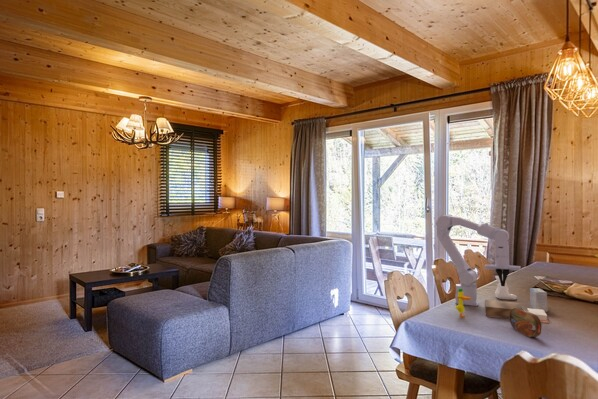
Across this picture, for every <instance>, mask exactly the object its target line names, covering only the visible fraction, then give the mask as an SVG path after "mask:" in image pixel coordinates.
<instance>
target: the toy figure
mask: <svg viewBox="0 0 598 399" xmlns="http://www.w3.org/2000/svg"><path fill="white" fill-rule="evenodd" d="M457 298H458V300H459V304H456V305H454V307H455V309H456V310H457V311H458V314H459V317H460V318H466V315H465V314H464V312H465V311H466V310H465V305H463V300H470V299H471V298H470V297H467V296H463V291H462V288H459V291H458V297H457Z"/></svg>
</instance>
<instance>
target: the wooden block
mask: <svg viewBox="0 0 598 399" xmlns="http://www.w3.org/2000/svg"><path fill="white" fill-rule="evenodd" d="M514 308H517V309H523V307H522V304H521V302H514V301H504V300H503V301H501V300H494V299H493V300H492V299H484V311H485V314H484V315H485V317H491V318H492V317H493V318H500V319H501V318H503V319H510V317H509V316H510V312H511V310H512V309H514Z"/></svg>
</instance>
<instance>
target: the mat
mask: <svg viewBox="0 0 598 399" xmlns="http://www.w3.org/2000/svg"><path fill="white" fill-rule="evenodd" d="M540 321H541V324H549V323H550V322H549V320H548V319H547V320H540Z"/></svg>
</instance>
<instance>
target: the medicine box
mask: <svg viewBox="0 0 598 399" xmlns="http://www.w3.org/2000/svg"><path fill="white" fill-rule="evenodd" d="M529 308H532V309H542V310H544V311H545V313H547V312H548V292H547V291H544V290H543V289H542V288H540V287H539V288H535V287H532V288H531V287H530V288H529Z"/></svg>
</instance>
